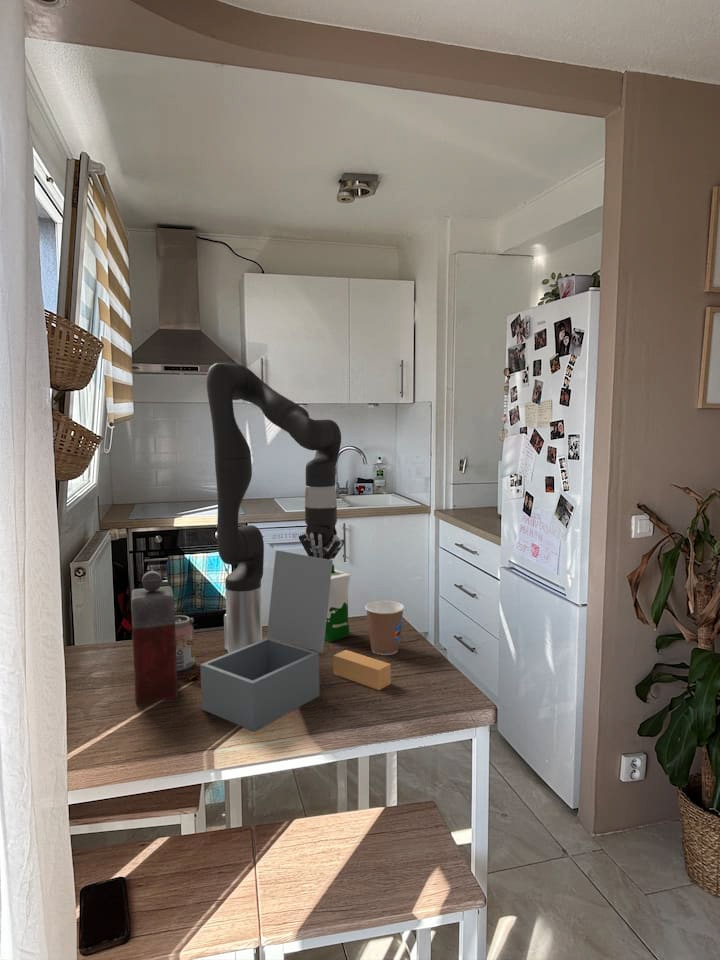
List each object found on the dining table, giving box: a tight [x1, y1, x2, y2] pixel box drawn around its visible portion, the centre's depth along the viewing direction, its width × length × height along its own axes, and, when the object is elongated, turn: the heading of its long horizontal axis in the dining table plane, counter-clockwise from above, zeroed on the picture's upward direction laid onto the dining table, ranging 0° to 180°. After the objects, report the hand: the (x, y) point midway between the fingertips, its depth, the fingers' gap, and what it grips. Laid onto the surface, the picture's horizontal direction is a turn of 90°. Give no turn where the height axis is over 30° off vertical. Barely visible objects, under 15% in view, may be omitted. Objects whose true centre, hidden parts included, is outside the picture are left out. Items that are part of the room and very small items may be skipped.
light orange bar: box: [332, 649, 392, 691], centre depth 155 cm, size 14×4×5 cm, turn 50°
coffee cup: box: [364, 600, 405, 656], centre depth 172 cm, size 10×10×12 cm
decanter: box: [130, 570, 179, 704], centre depth 148 cm, size 9×11×28 cm
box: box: [199, 637, 320, 732], centre depth 142 cm, size 16×20×10 cm
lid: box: [266, 550, 334, 653], centre depth 150 cm, size 17×20×1 cm
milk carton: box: [325, 563, 352, 643], centre depth 182 cm, size 9×9×20 cm
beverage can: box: [175, 614, 196, 672], centre depth 163 cm, size 9×8×12 cm
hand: (321, 575), depth 156 cm, fingers closed
